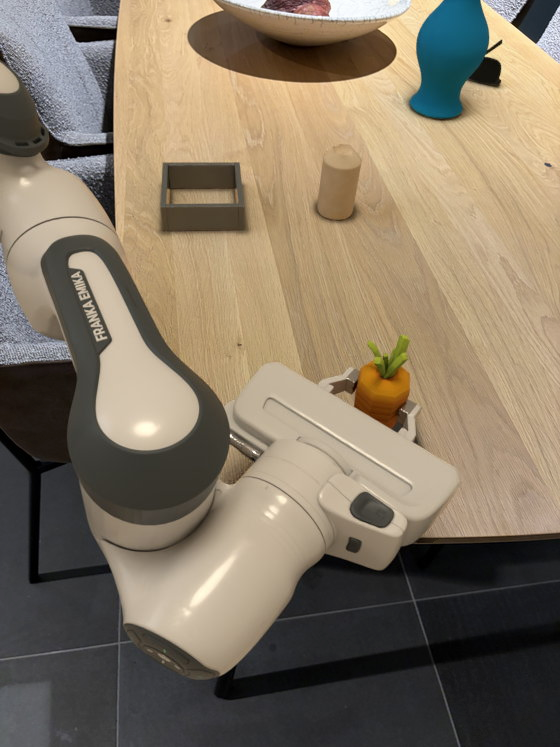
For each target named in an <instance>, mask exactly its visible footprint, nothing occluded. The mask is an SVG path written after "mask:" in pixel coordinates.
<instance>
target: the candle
mask: <svg viewBox="0 0 560 747" xmlns="http://www.w3.org/2000/svg"><path fill="white" fill-rule="evenodd" d="M362 162H363V160H362V157H361V156H360V154H359V153H358V152H357V151H356V150H355V149H354V147H353V146H352V145H351V144H346V143H345V144H344V143H339V144H337V145H336V146H332V147H331V148H330V149H328V150H327V151H325V153H323V156H322V162H321V163H322V164H321V172H320V180H319V188H318V196H317V204H316V206H317V207H316V208H317V212H318V213H319V215H321V216H322V217H323V218H327V219H329V220H334V221H342V220H345V219H348V218H350V217H351V215H352V214H353V212H354V208H355V203H356V202H355V201H356V197H357V191H358V184H359V178H360V173H361V168H362Z"/></svg>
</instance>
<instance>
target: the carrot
mask: <svg viewBox="0 0 560 747" xmlns="http://www.w3.org/2000/svg"><path fill="white" fill-rule="evenodd" d="M410 341H411V340H410V338H409V337H408V336H407V335H405V334H400V335H399V337H398V340H397V343H396V346H395V347H394V348H393V349H392V350H391V352H390V353H391V354H390V355H389V354H388V353H387V352H384V353H382V355H381V353H380V350H379V348H378V346H377V344H375V343H374V342H373V340H371V339H369V340H368V341H367V343H366V345H367V347H368V348H369V349H370V351H371V352H372V354H373V355H374V357H373V360H371V361H369V362H368V363H366V364H364V365H362V366H361V367H360V369H359V370H358V371H359V376H358V381H357V386H356V390H355V392H354V399H353V400H354V403H353V407H355V408H357V409H358V410H360V411H362V412H363V413H365V414H367V415H368V416H370V417H372V418H373V419H375V420H377V421H378V422H380V423H382V424H383V425H385V426H387V427H388V428H390V429H392V428H393V427H394V425H395V424H396V422H397V421H396V419H397V416H398V415H399V414H398V413H399V410H400V408H401V407H402V406H403V405H404V404H405V403H406V402H407V400H408V399H409V396H410V394H411V393H410V392H411V373H410V372H409V371H407V369H405V368H404V367H403V365H404V364H406V362H407V361H408V360H409V355H408V353H407V351H408V348H409V345H410Z"/></svg>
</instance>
